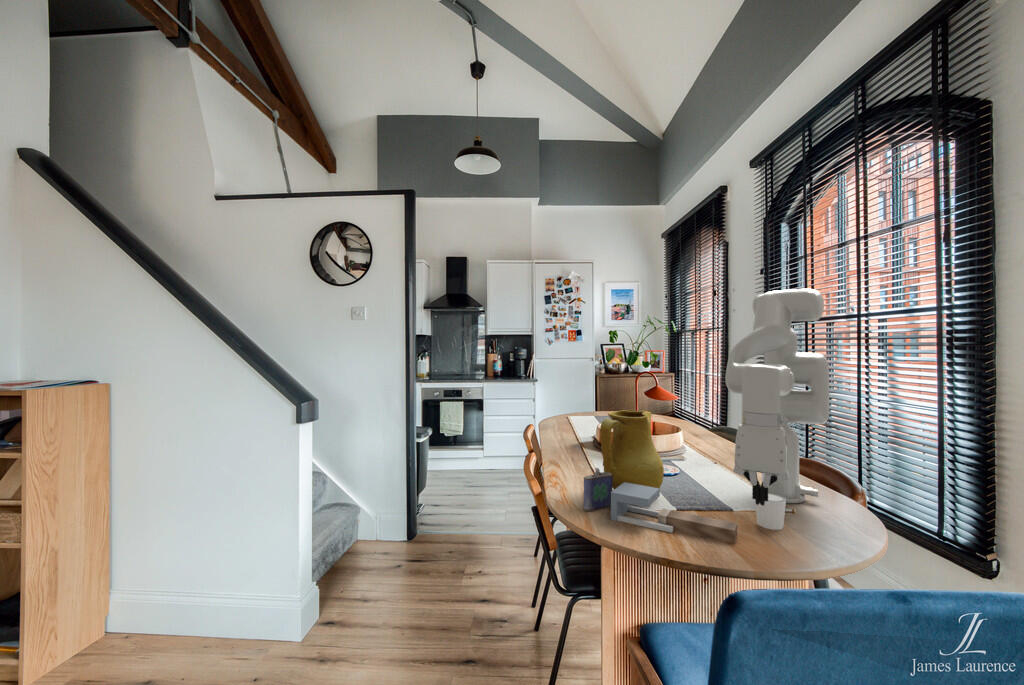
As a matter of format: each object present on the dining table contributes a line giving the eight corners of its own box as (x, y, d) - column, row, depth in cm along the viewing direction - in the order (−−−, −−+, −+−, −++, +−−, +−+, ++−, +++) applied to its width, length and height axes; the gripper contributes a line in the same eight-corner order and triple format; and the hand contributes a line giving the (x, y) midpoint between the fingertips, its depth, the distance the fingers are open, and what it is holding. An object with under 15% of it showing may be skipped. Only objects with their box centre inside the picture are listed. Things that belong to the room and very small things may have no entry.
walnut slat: (737, 535, 105) (737, 523, 105) (734, 543, 100) (734, 530, 100) (662, 520, 114) (662, 508, 114) (657, 526, 110) (657, 514, 110)
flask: (587, 512, 119) (587, 472, 119) (580, 508, 121) (580, 469, 121) (614, 507, 123) (614, 467, 123) (607, 503, 125) (607, 465, 125)
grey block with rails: (681, 519, 114) (681, 492, 114) (671, 533, 105) (671, 503, 105) (624, 507, 122) (624, 482, 122) (610, 519, 114) (610, 492, 114)
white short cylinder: (789, 532, 106) (789, 503, 106) (756, 528, 109) (756, 499, 109) (782, 522, 113) (782, 494, 113) (752, 518, 115) (752, 491, 115)
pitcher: (674, 505, 123) (669, 413, 124) (606, 507, 124) (601, 416, 125) (655, 487, 140) (651, 407, 141) (596, 489, 141) (592, 409, 142)
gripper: (800, 421, 99) (800, 505, 98) (726, 415, 107) (725, 492, 106) (800, 425, 92) (800, 515, 92) (721, 419, 101) (720, 501, 100)
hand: (760, 503), depth 99 cm, fingers closed
